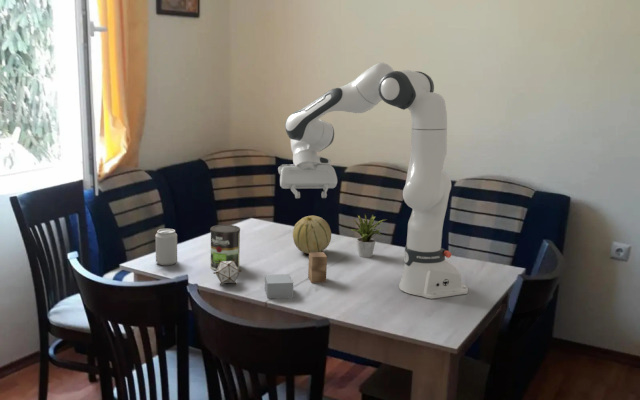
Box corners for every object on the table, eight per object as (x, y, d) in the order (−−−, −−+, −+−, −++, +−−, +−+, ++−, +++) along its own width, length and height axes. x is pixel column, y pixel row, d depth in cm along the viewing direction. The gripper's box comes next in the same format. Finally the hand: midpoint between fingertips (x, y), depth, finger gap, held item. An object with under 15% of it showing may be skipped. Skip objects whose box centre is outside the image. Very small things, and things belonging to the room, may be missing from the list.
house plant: (383, 263, 235) (386, 220, 232) (346, 260, 237) (348, 218, 234) (385, 252, 249) (388, 211, 246) (350, 249, 251) (352, 209, 248)
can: (151, 264, 225) (151, 231, 222) (162, 258, 232) (161, 226, 229) (171, 267, 223) (171, 234, 220) (181, 260, 230) (180, 228, 227)
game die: (230, 296, 209) (234, 279, 201) (207, 284, 209) (210, 267, 202) (243, 276, 215) (247, 259, 207) (220, 265, 215) (224, 247, 208)
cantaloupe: (332, 248, 252) (333, 211, 248) (328, 260, 237) (330, 221, 234) (294, 246, 253) (296, 209, 250) (289, 257, 239) (290, 218, 235)
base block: (289, 288, 207) (289, 274, 206) (292, 297, 199) (293, 282, 198) (264, 289, 206) (264, 274, 204) (267, 298, 198) (267, 283, 197)
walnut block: (322, 277, 218) (323, 252, 217) (326, 282, 214) (327, 256, 212) (308, 278, 217) (309, 252, 215) (311, 283, 213) (312, 257, 211)
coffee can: (232, 273, 219) (232, 233, 216) (205, 269, 222) (205, 230, 219) (244, 264, 229) (245, 226, 226) (218, 260, 232) (218, 223, 229)
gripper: (278, 159, 224) (283, 192, 217) (335, 159, 229) (341, 192, 221) (276, 169, 229) (280, 202, 222) (331, 169, 234) (337, 201, 227)
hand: (311, 197), depth 222 cm, fingers open, 8 cm apart
